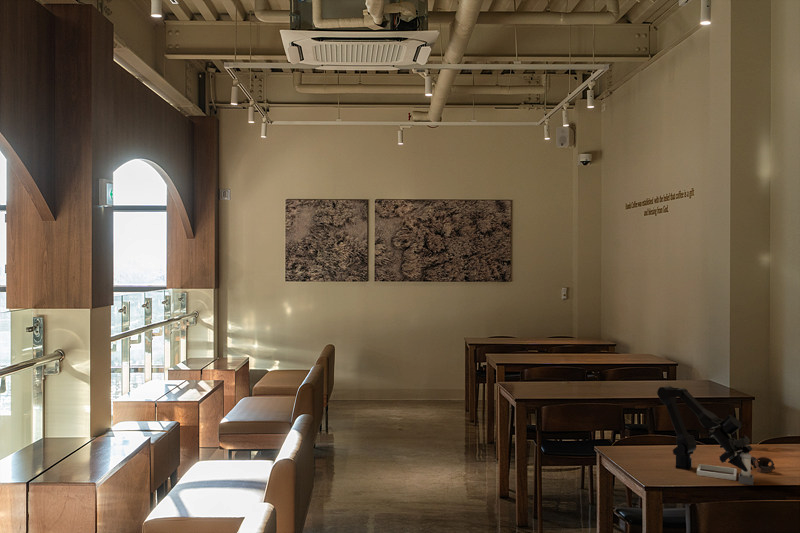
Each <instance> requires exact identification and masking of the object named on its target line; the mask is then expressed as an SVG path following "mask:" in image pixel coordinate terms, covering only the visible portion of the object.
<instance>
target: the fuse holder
mask: <svg viewBox="0 0 800 533" xmlns="http://www.w3.org/2000/svg"><path fill="white" fill-rule="evenodd" d="M741 474H742V472H739V473H738V484H742V485H749V486H754V474H751V478H749V477H742V476H741Z"/></svg>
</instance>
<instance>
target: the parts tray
mask: <svg viewBox="0 0 800 533" xmlns="http://www.w3.org/2000/svg"><path fill="white" fill-rule="evenodd" d="M707 470H708V471H707ZM737 472H738V470H737V467H736V468H735V467H728V466H718V465H711V464H703V463H698V466H697V468H696V475H697V476H701V477H707V478H708V477H709V478H715V479H723V480H730V481H737Z"/></svg>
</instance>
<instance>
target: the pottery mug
mask: <svg viewBox="0 0 800 533" xmlns="http://www.w3.org/2000/svg"><path fill="white" fill-rule="evenodd" d="M769 464H770V465H769ZM751 466H752V468H753V469H754V470H755V469H756V471H755V472H756V473H760V474H763V473H770V472H773V471H774V470H776V467H775V463H774V461H773V460H772V459H771V458H769V457H767V456H759V457H754V456H751Z"/></svg>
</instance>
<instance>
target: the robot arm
mask: <svg viewBox="0 0 800 533" xmlns="http://www.w3.org/2000/svg"><path fill="white" fill-rule="evenodd" d="M656 393H657V397H658V398H659V400H660V402H661V403H662V404H663V405H665V407H666V410H667V412H668V414H669V417H670V420H671V424H672V426H673V429H674V431H675V433H676V441H675V442H676V446H675V447H674V448H673V449H672V454H673V455H674V456H675V466H674V467H676V468H675V469H680V468H682V470H688V469H690V470H691V468H692V467H693V463H692V462H693V458H692V457H691V455H693V454H694V452H695V451H696V450H697V444H698V442H697V441H696V440H695V439H696V438H695V436H694V434H690V433H689V432H688V430H687V428H686V426H685V422H684V420H683V418H682V415H681V412H680V410H679V408H678V404H677V398H679V400H681V401H682V402H683V403H684V404H685V405H686V406H687V407H688V408H689V409H690V410H691V411H692V412H693V413H695V415H696V416H697V418H698V422H699V423H700V424H701V425H702V427H703V428H704V429H706V430H709V431H708V437H709V438H712V437H714V439H715V440H716V441H717V442H718V444H719V448H720V449H723V450H724V452H723V453H722V454H721V455H719V460H720V462H721V463H722V464H723V463H726V462H727V463H728V464H731V465H733V466H735V467H736V468H738V469H740V470H741V471H742V470H743V471H745V472H747V471H748V470H747V468H746V467H745V465H744V464H743V462H742V457H741V453H749V454H750V452H751V451H753V450H754V449H753V447H752V446H751V443H750V441H751V439H750V438H749V437H748V436H747V435H742V436H740V438H739V439H736V438H735V437H731V435H733V434H735V433H736V432H737V431H738V430H739V429H741V428H742V427H743V425H742V422H741V421H740V420H739V419H737V417H735V416H733V415H732V414H728V415H727V416H726V418H724V419H722V418H719V417H718V416H717V415H716V414H715V413H713V412H712V411H710V410H708V409H707V408H706V407H704V406H703V405H702V404H701V403H700V402H699V401H698V400H697V399H696V398H695V397H694V396H693V395H692V394H691V393H690V392H689V391H688V389H687V388H685V387H682V388H681V387H674V386H671V385H666V386H660V387H659V388H658V389H657V391H656ZM710 429H712V430H710ZM727 460H728V461H727ZM752 470H753V466H752V465H751V471H752Z"/></svg>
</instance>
